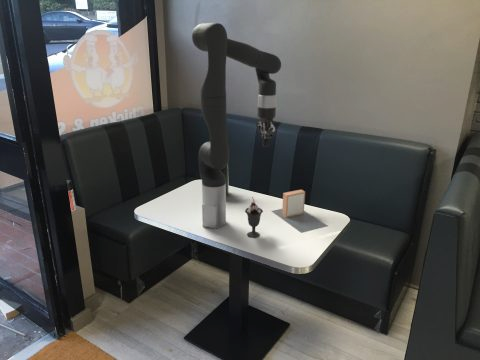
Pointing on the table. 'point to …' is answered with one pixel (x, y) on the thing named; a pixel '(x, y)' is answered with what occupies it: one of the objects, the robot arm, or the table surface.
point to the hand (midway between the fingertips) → (265, 146)
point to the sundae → (253, 218)
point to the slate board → (301, 221)
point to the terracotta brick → (293, 203)
